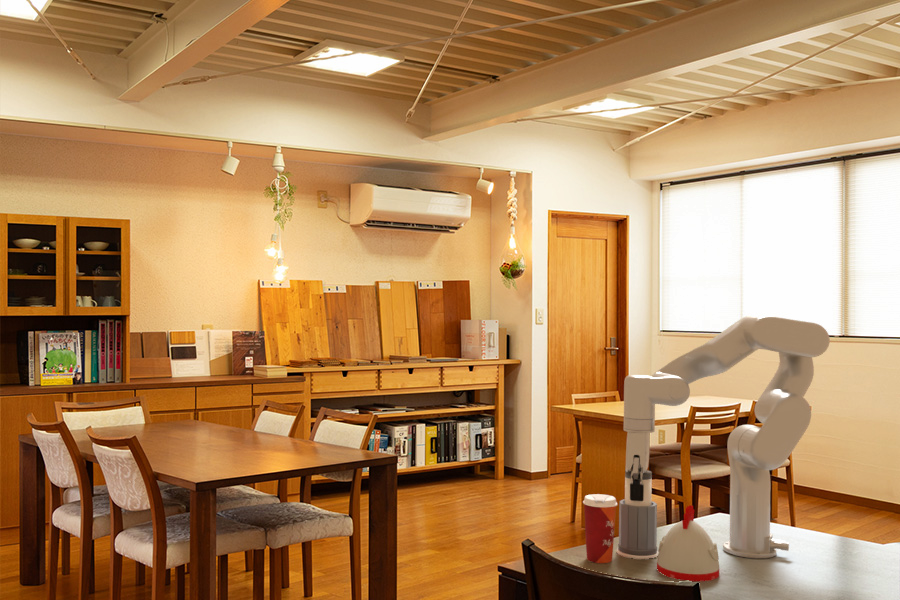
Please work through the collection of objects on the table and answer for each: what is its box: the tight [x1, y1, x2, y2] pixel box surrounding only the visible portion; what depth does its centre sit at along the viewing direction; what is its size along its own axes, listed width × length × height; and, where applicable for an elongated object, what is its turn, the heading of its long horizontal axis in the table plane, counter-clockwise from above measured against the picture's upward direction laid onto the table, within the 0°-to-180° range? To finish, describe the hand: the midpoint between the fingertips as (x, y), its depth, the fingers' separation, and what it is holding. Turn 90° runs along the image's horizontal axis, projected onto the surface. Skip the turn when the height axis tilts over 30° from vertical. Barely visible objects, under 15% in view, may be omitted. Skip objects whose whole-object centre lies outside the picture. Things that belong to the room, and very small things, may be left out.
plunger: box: [624, 469, 653, 506], centre depth 206 cm, size 6×6×17 cm
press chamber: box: [616, 498, 659, 560], centre depth 206 cm, size 10×10×12 cm
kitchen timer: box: [656, 504, 720, 582], centre depth 193 cm, size 14×14×15 cm
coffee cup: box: [582, 493, 618, 564], centre depth 201 cm, size 8×8×15 cm
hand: (638, 496), depth 206 cm, fingers closed on plunger, 6 cm apart
